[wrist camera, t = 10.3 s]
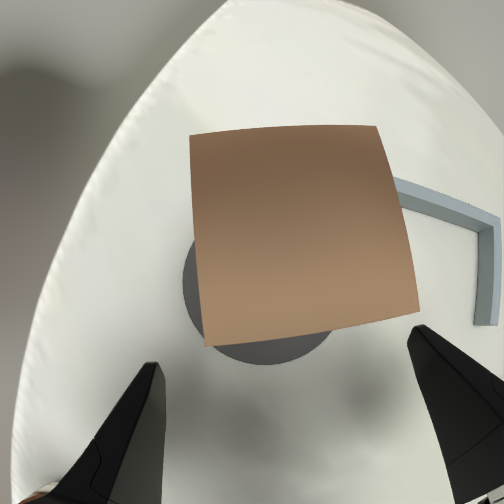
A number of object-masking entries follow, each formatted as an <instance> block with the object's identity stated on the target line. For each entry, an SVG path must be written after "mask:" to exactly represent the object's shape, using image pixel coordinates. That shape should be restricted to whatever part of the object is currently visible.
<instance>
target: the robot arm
mask: <svg viewBox="0 0 504 504" xmlns="http://www.w3.org/2000/svg"><path fill="white" fill-rule="evenodd" d="M407 347H408V350H409V354H410V357H411V361H412V364H413V368H414V371H415V375H416V378H417V382H418V384H419V387H420V390H421V392H422V395H423V398H424V400H425V403H426V406H427V409H428V412H429V414H430V417H431V420H432V423H433V426H434V429H435V432H436V435H437V438H438V442H439V445H440V448H441V451H442V455H443V458H444V462H445V465H446V469H447V473H448V477H449V480H450V484H451V488H452V492H453V497H454V501H455V504H465V503H467V502H470V501H472V500H474V499H476V498H478V497H481V496H483V495H485V494H487V495H488V496H487V497H485V498H484V499H482V500H481V501H479V502H478V504H504V381H503V380H501V379H500V378H498V377H497V376H496V375H494V374H493V373H491V372H490V371H489V370H487V369H486V368H485V367H483V366H482V365H481V364H479V363H478V362H476V361H475V360H474V359H472V358H471V357H470V356H468V355H467V354H465V353H464V352H463V351H461V350H460V349H458V348H457V347H456V346H454V345H453V344H451V343H450V342H449V341H447V340H446V339H444V338H443V337H441V336H440V335H439V334H437V333H436V332H434V331H433V330H431V329H430V328H429V327H427V326H426V325H423V324H421V325H417V326H414V327H413V329H412V331H411V333H410V336H409V338H408V341H407ZM165 430H166V389H165V376H164V374H163V372H162V370H161V368H160V366H159V364H158V363H157V362H146V363H145V364H144V365H143V366H142V368H141V369H140V371H139V372H138V374H137V375H136V376H135V378H134V379H133V381H132V382H131V384H130V385H129V386H128V388H127V389H126V391H125V392H124V394H123V395H122V397H121V398H120V399H119V401H118V402H117V404H116V405H115V407H114V408H113V410H112V411H111V413H110V414H109V416H108V417H107V419H106V420H105V421H104V423H103V424H102V426H101V427H100V429H99V430H98V432H97V433H96V435H95V436H94V439H92V441H91V442H90V444H89V445H88V447H87V448H86V449H85V451H84V452H83V454H82V455H81V456H80V458H79V459H78V460H77V461H76V463H75V464H74V465H73V466H72V468H71V469H70V470H69V471H68V472H67V473H66V475H65V476H64V477H63V478H62V479H61V480H60V482H59V483H58V484H57V485H56V486H55V487H54V488H53V489H52V490H51V491H50V492H48V493H47V494H45V495H43V496H41V497H39V498H36V499H33V500H31V501H28V502H25V503H22V504H161V499H162V475H163V457H164V443H165Z"/></svg>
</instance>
